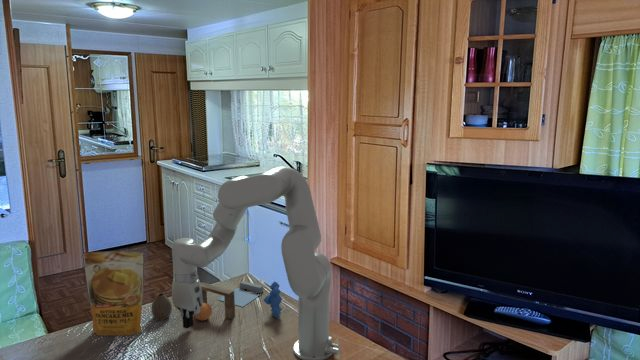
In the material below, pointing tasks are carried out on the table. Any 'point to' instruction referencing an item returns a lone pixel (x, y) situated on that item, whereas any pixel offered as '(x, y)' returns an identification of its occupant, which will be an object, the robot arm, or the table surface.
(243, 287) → the stopper wall
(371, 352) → the table surface
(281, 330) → the table surface
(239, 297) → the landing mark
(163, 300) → the vase
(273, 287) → the blue lumpy cluster
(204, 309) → the ball
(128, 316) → the pancake mix bag
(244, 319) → the table surface
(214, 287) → the bridge
